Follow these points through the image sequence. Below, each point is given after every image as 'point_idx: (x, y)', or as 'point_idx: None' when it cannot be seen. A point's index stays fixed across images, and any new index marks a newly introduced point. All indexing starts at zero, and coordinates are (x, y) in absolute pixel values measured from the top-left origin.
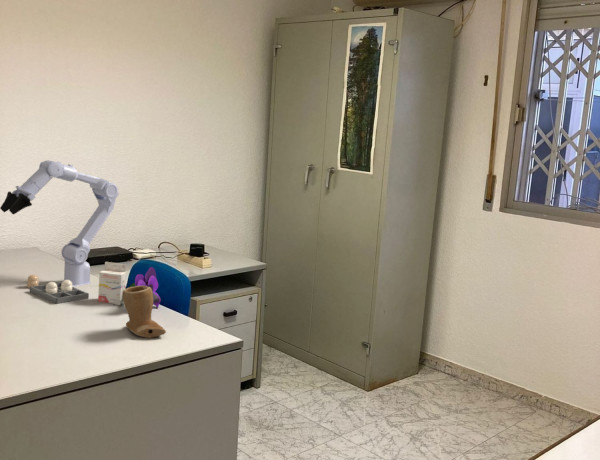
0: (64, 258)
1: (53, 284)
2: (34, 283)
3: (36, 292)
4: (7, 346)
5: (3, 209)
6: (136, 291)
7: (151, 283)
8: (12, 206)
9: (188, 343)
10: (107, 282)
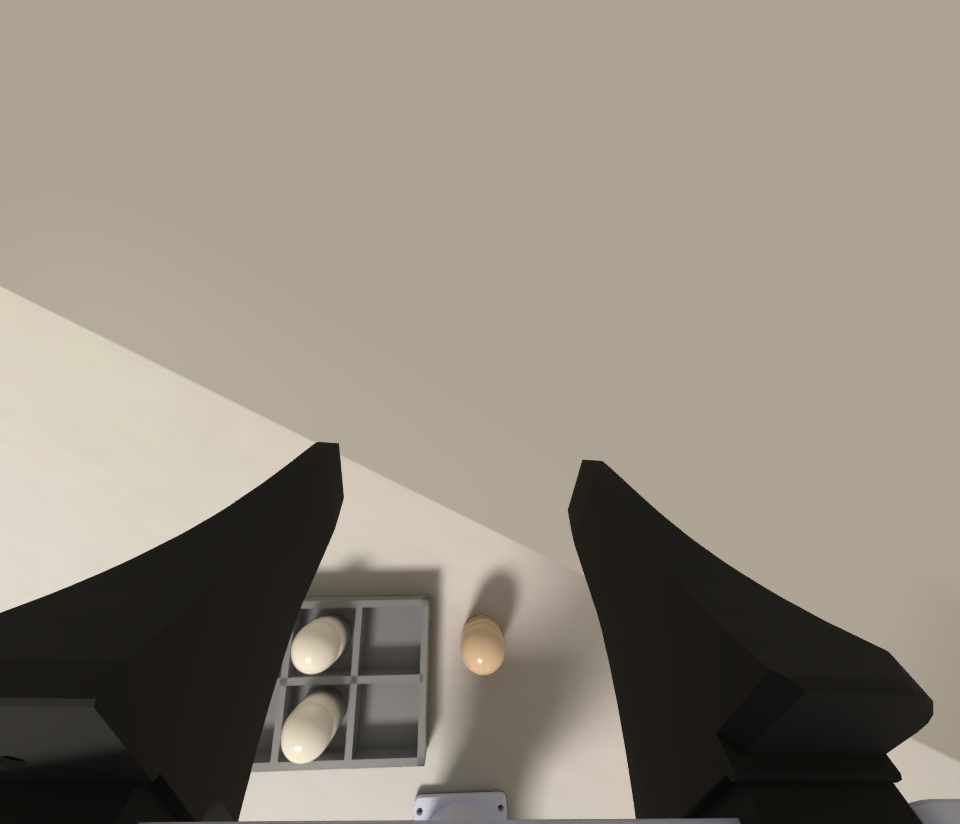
0: None
1: (292, 650)
2: (461, 640)
3: (378, 598)
4: (38, 310)
5: (578, 495)
6: None
7: None
8: (283, 468)
9: None
10: None
